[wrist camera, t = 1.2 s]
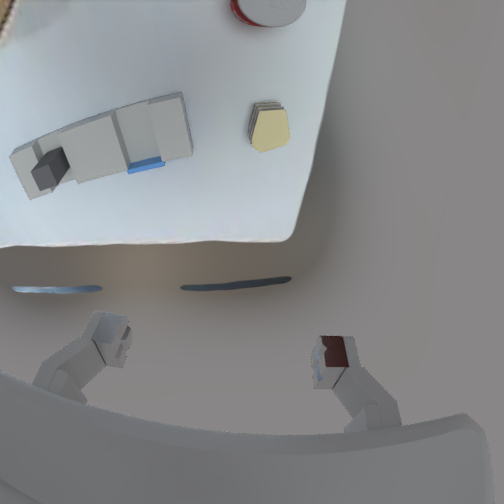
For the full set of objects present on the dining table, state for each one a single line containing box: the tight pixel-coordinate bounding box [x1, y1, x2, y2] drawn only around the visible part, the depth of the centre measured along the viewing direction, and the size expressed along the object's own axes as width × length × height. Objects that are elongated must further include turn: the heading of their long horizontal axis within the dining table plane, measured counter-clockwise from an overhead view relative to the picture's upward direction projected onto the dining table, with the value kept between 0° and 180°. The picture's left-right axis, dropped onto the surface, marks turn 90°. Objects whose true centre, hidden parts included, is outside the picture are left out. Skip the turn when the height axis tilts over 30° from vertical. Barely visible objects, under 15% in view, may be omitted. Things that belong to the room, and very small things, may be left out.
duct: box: [9, 92, 193, 200], centre depth 42 cm, size 11×34×4 cm, turn 96°
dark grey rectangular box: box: [31, 146, 70, 191], centre depth 40 cm, size 4×4×7 cm
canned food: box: [231, 0, 306, 27], centre depth 28 cm, size 8×8×11 cm
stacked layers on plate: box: [249, 103, 290, 152], centre depth 44 cm, size 10×9×6 cm
